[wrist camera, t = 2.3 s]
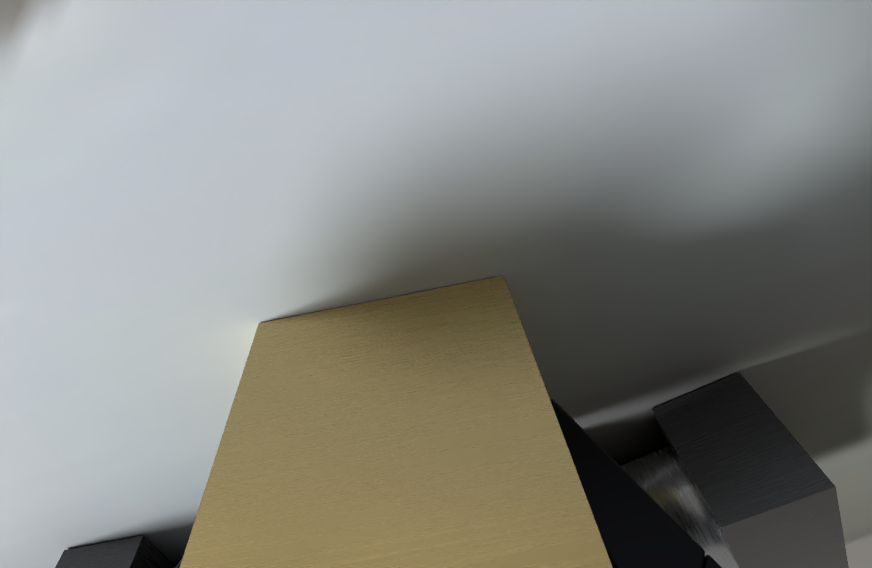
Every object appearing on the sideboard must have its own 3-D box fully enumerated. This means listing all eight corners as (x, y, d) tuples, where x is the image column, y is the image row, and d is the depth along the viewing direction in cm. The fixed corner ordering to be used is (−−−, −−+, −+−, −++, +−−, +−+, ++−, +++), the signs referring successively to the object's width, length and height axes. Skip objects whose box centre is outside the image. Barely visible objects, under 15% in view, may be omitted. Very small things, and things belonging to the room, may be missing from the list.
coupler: (330, 471, 12) (298, 810, 7) (259, 323, 9) (134, 704, 4) (522, 435, 11) (613, 755, 7) (503, 275, 9) (630, 616, 4)
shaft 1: (583, 541, 14) (652, 742, 11) (514, 455, 12) (573, 681, 8) (768, 471, 13) (915, 670, 10) (736, 361, 11) (918, 574, 7)
